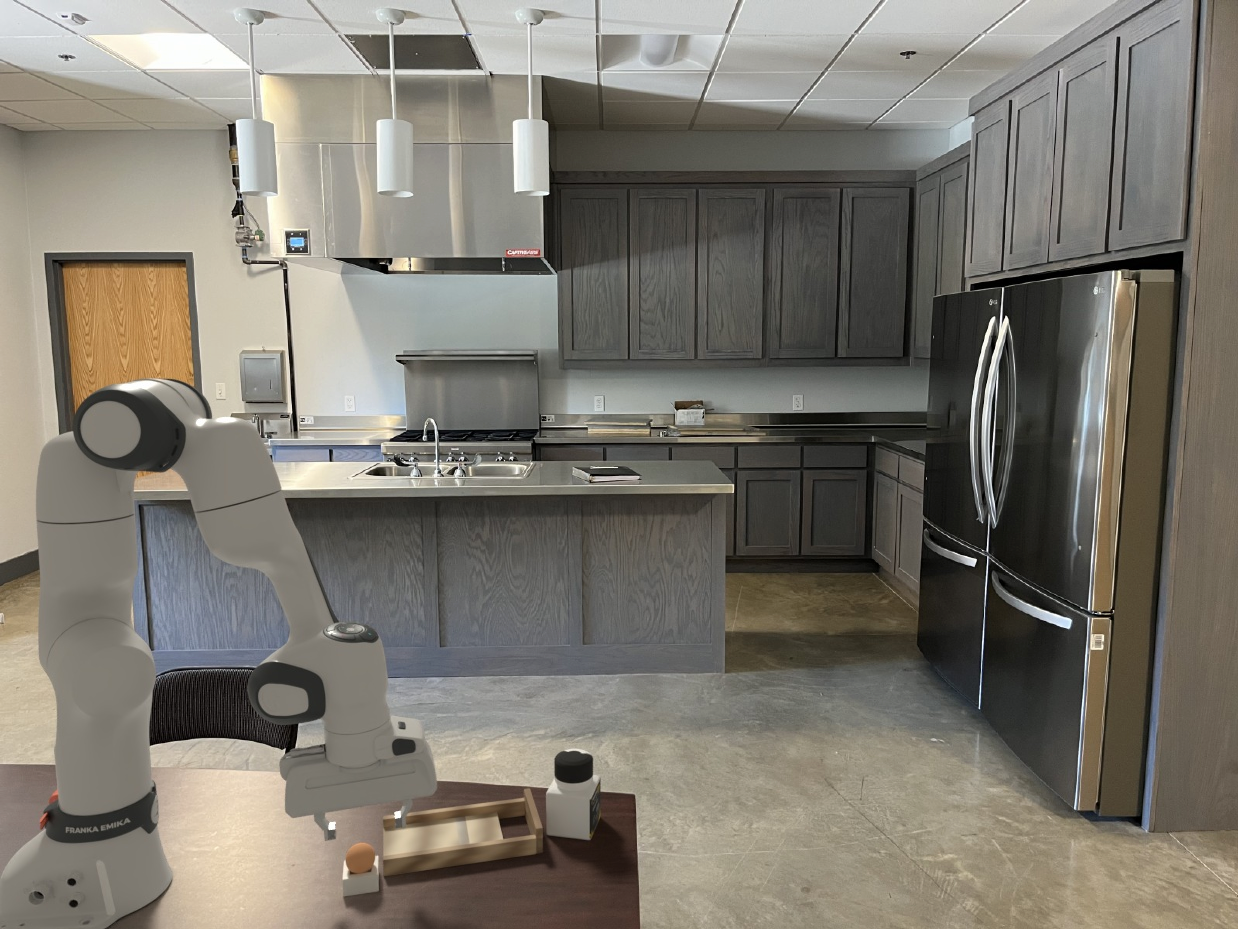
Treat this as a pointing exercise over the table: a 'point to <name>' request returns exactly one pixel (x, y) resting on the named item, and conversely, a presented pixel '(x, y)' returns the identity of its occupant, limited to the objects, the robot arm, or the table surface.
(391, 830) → the lane
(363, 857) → the ball
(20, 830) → the table surface
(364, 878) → the square ring
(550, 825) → the medicine bottle
